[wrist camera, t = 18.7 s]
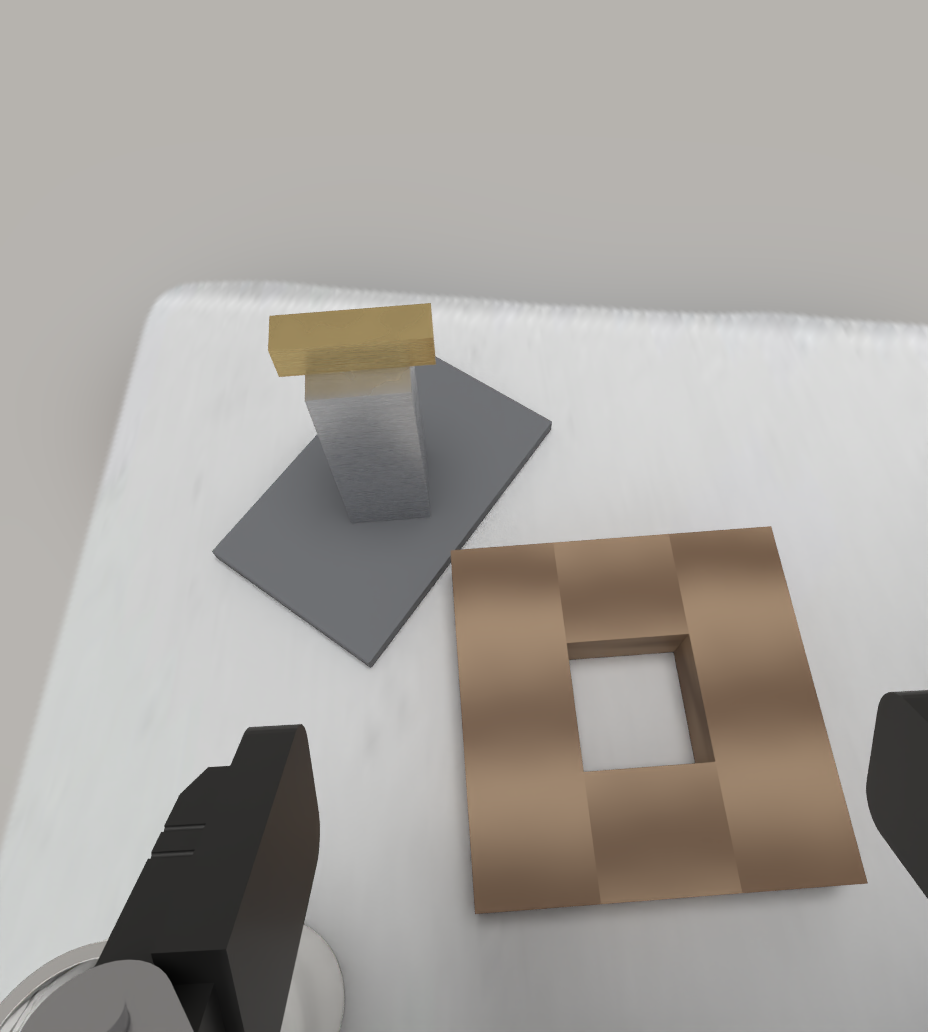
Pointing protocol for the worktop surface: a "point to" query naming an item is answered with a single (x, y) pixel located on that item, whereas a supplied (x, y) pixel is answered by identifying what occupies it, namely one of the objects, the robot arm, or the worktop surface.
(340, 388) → the t key
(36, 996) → the beer glass
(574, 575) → the socket block
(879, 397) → the worktop surface
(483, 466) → the slate mat
